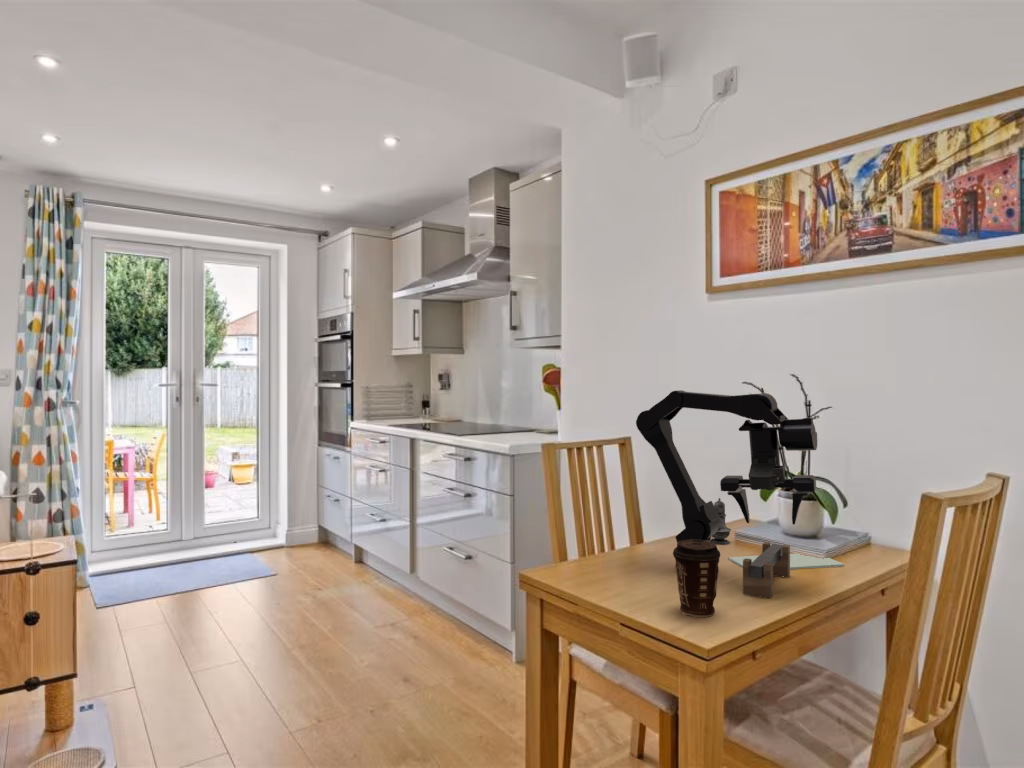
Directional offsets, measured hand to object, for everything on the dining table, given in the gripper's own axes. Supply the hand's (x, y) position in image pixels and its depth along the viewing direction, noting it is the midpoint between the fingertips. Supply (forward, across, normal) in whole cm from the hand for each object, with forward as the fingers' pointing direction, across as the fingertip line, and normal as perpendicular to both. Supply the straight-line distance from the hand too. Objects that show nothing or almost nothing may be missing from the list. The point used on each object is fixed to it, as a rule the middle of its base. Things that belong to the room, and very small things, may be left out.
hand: (770, 523), depth 135 cm
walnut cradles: (+13, -2, -1) cm, 13 cm away
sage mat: (+13, 0, +18) cm, 22 cm away
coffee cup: (+13, -11, -24) cm, 29 cm away
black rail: (+9, -1, -1) cm, 9 cm away
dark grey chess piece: (+12, -18, +30) cm, 37 cm away
